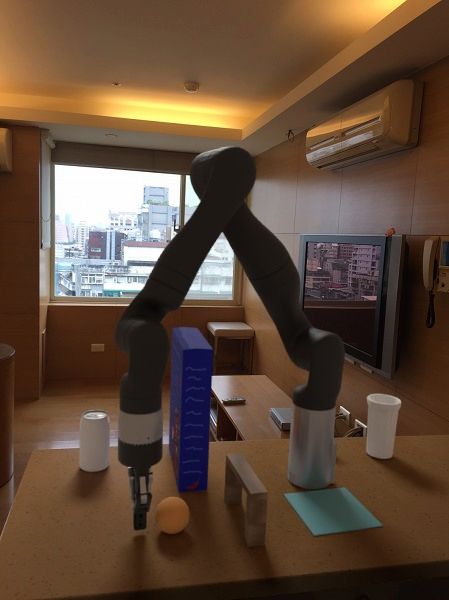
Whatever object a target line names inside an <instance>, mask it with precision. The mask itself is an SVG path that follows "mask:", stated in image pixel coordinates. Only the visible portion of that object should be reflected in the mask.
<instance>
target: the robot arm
mask: <svg viewBox="0 0 449 600" xmlns="http://www.w3.org/2000/svg"><path fill="white" fill-rule="evenodd" d="M256 166H257V165H256V162H255V159H254V158H253V156H252V154H251V153H250V152H249V151H248V150H247V149H245V148H243V147H240V146H236V145H232V146H224V147H222V146H221V147H219V148H215V149H212V150H208V151H203V152H202V153H200V154H198V155H196V157H195V158H194V159H193V160H192V162H191V164H190V167H189V181H190V185H191V187H192V189H193V192H194V194H195V195H196V196H197V198H198V199H199V203H198V204H197V206H196V208H195V210H194V211H193V212H192V214H191V216H190V217H189V218H188V220H187V221H186V222H185V223H184V225H183V226H182V227H181V228H180V229H179V231H178V232H177V233H176V234H175V235H174V237H172V238H171V240H169V242H168V243H167V245H166V246H165V247H164V249H163V250H162V251H161V253H160V255H159V256H158V259H156V262H155V264H154V266H153V267H152V269H151V272H150V274H149V276H148V277H147V279H146V281H145V284H144V286H143V287H142V288H141V290H140V291H139V292H138V293H137V295H135V297H134V298H133V300H132V301H131V302H130V303H129V304H128V306H127V307H126V308H125V310H124V311H123V312H122V314H121V315H120V317H119V319H118V321H117V323H116V326H115V327H114V328H115V329H114V336H113V337H114V343H115V345H116V347H117V348H118V350H119V351H121V352H122V353H123V354H125V355H128V358H129V360H128V370H127V372H126V373H124V374H123V375H122V377H121V378H120V381H119V409H118V417H117V418H118V419H117V460H118V462H119V464H120V465H123V466H124V467H127V477H128V485H129V486H128V488H129V496H130V500H131V504H132V506H131V507H132V509H131V510H132V526H133V530H134V531H143V530H146V529H147V528H148V527H147V524H148V521H147V518H148V517H147V513H149V512H150V510H151V504H152V498H153V494H152V484H153V483H154V472H153V471H152V467H153V466H156V465H157V464H159V462H161V460H162V459H163V455H164V454H163V451H164V450H163V447H164V446H163V443H164V442H163V441H164V417H163V416H164V415H163V410H162V409H163V408H162V407H163V404H162V403H163V388H162V387H163V385H162V384H163V380H164V378H165V374H166V371H167V365H168V362H169V358H170V357H169V356H170V351H171V347H170V346H171V344H170V343H171V341H170V340H171V339H170V336H169V332H168V330H167V329H166V326H165V325H164V324H162V323H161V322H162V321H163V319H164V318H165V317H166V316H167V314H169V313H170V312H174V311H178V310H179V309H180V307H181V306H182V304H183V303H184V301H185V299H186V297H187V295H188V293H189V291H190V289H191V287H192V285H193V283H194V281H195V279H196V277H197V275H198V273H199V271H200V269H201V267H202V266H203V264H204V261H205V260H206V258H208V257H207V256H208V255H209V253H210V252H211V250H212V248H213V246H214V245H215V243H216V242H217V241H218V239H219V238H220V236H221V235H222V234H223V236H224V237H225V239H226V241H227V242H228V245H229V246H230V248H231V250H232V253H233V254H234V255H235V257H236V258H237V260H238V262H239V264H240V265H241V267H242V269H243V272H244V273H245V275H246V277H247V280H248V281H249V282H250V284H251V286H252V288H253V290H254V291H255V293H256V294H257V296H258V298H259V299H260V302H261V303H262V304H263V306H264V308H265V310H266V312H267V313H268V315H269V316H270V317H269V318H271V320H272V322H273V324H274V326H275V328H276V330H277V332H278V335H279V338H280V340H281V342H282V344H283V347H284V349H285V352H286V355H287V356H288V358H289V359H290V361H291V362H292V363H293V365H295V366H296V367H298V368H299V369H301V370H304V371H306V372H308V376H307V377H308V378H307V384H301V385H298V386H296V387H295V388H294V389H293V391H292V398H291V399H292V401H291V415H290V418H291V419H290V432H289V445H288V446H289V447H288V450H289V451H288V460H287V479H288V481H289V482H290V483H291V484H293V485H294V486H297V487H299V488H301V489H306V490H323V489H325V488H326V487H328V486H330V485H331V484H335V474H336V473H335V472H336V471H335V470H336V458H337V446H338V442H337V440H336V439H335V438H334V436H335V435H334V433H335V422H336V421H335V420H336V419H335V418H336V407H337V400H338V397H339V394H340V393H341V392H340V391H341V389H342V382H343V381H342V380H343V373H344V368H345V367H344V366H345V359H346V358H345V357H346V351H345V345H344V341H343V339H342V338H341V337H340V336H339V335H338V334H336V333H333V332H331V331H326V330H322V329H319V328H316V327H314V326H313V325H312V324H311V322H310V320H309V319H308V318H307V315H306V314H305V313H304V310H303V309H302V306H301V301H300V299H301V297H300V296H301V276H300V273H299V271H298V268H297V266H296V264H295V263H294V261H293V258H292V257H291V255H290V253H289V251H288V249H287V247H286V246H285V245H284V243H283V242H282V241H281V240H280V239H279V238H278V237H277V236H276V235H275V233H274V232H272V231H271V230H270V229H269V228H268V227H267V226H266V225H264V224H263V222H261V221H260V220H259V219H258V218H257V216H255V214H254V212H252V210H251V209H250V207H249V205H247V203H246V200H247V197H248V196H249V195H250V193H251V192H252V189H253V188H254V185H255V184H256V180H257V167H256Z"/></svg>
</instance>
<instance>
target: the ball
mask: <svg viewBox="0 0 449 600" xmlns="http://www.w3.org/2000/svg"><path fill="white" fill-rule="evenodd" d="M154 515H155V516H154V517H155V519H154V520H155V522H156V525H157V527H158V528H159V529H160V531H162V532H164V533H166V534H168V535H169V534H170V535H174V534H175V535H176V534H178V533H180V532H181V531H183V530H184V529H185V528H186V526H187V525H188V523H189V521H190V509H189V506H188V505H187V503H186V502H185V500H183V499H182V498H181V497H178V496H169V497H166V498H164V499H163V500H161V501H160V502H159V503H158V505H157V506H156V510H155V514H154Z"/></svg>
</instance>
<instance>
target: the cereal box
mask: <svg viewBox="0 0 449 600" xmlns="http://www.w3.org/2000/svg"><path fill="white" fill-rule="evenodd" d="M171 330H172V331H171V357H170V362H171V365H170V391H169V392H170V393H169V394H170V395H169V397H170V398H169V425H168V426H169V427H168V428H169V429H168V450H169V454H170V458H171V462H172V463H171V464H172V469H173V472H174V478H175V482H176V487H177V492H178V493H190V492H205V491H208V484H209V462H210V461H209V460H210V459H209V457H210V455H209V454H210V437H211V436H210V435H211V434H210V433H211V432H210V431H211V411H212V410H211V407H212V386H213V385H212V384H213V382H212V381H213V361H214V360H213V359H214V358H213V357H214V349H213V347H212V346H211V345H210V343H209V342H208V340H207V339H206V338H205V336H203V334H202V332H201V331H200V329H198V328H197V327H187V326H181V327H180V326H179V327H172V328H171Z"/></svg>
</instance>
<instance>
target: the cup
mask: <svg viewBox="0 0 449 600" xmlns="http://www.w3.org/2000/svg"><path fill="white" fill-rule="evenodd" d="M366 402H367V405H368V406H367V429H366V448H365V449H366V450H365V451H366V454H368V456H370V457H374V458H376V459H381V460H382V459H383V460H386V459H391V458H392V457H393V455H394V454H393V453H394V447H395V446H394V445H395V439H396V430H397V423H398V416H399V410H400V409H401V407H402V401H401V399H400V398H398V397H396V396H395V395H394V396H393V395H390V394H386V393H385V394H384V393H372V394H369V395H368V396H366Z"/></svg>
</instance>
